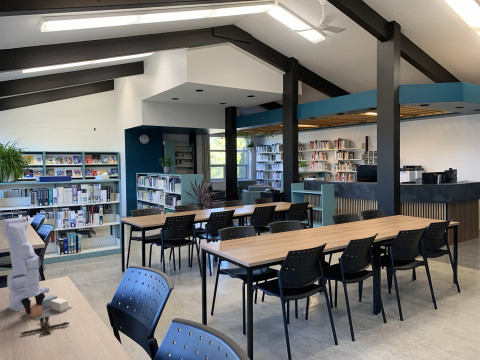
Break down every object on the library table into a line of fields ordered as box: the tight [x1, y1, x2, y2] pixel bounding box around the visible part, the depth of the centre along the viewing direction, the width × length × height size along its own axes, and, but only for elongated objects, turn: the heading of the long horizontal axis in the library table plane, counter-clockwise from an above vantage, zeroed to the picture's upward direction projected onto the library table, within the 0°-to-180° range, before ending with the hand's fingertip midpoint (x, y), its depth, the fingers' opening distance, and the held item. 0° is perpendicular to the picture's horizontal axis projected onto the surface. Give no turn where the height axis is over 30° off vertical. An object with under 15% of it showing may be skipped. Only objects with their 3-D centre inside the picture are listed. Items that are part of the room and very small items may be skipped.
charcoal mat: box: [17, 305, 73, 322], centre depth 173 cm, size 17×17×1 cm
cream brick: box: [51, 297, 69, 313], centre depth 174 cm, size 8×4×4 cm, turn 57°
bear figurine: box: [20, 316, 70, 336], centre depth 154 cm, size 18×4×14 cm
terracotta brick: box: [23, 302, 43, 318], centre depth 168 cm, size 8×4×4 cm, turn 57°
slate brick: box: [41, 294, 58, 309], centre depth 178 cm, size 8×4×4 cm, turn 147°
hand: (33, 312), depth 168 cm, fingers closed on terracotta brick, 4 cm apart
